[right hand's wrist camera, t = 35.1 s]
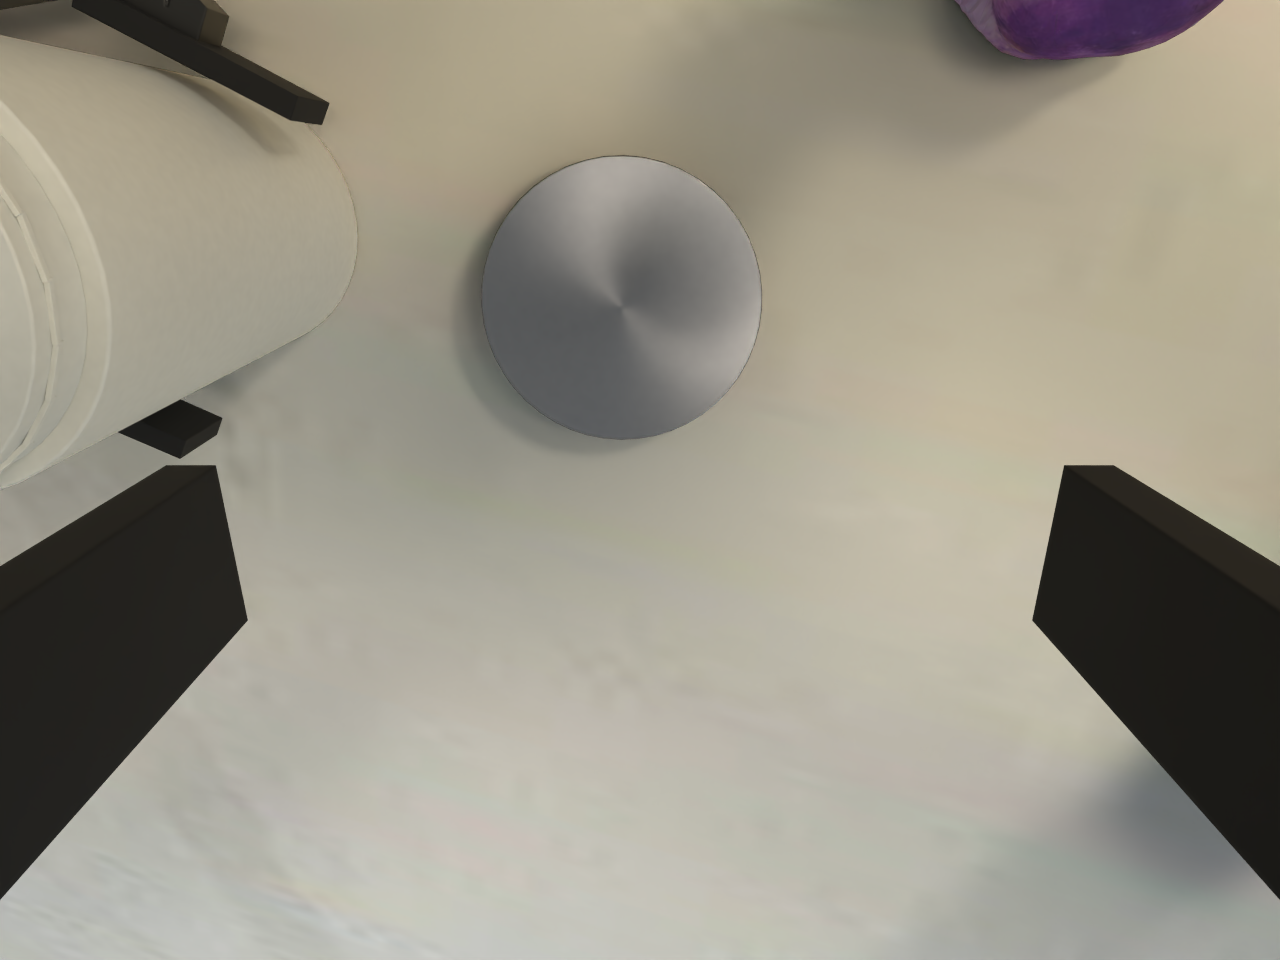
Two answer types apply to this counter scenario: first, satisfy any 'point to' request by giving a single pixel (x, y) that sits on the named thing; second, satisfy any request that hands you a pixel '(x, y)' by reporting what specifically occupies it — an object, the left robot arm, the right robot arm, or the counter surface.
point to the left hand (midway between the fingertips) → (253, 286)
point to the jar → (147, 243)
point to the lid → (621, 297)
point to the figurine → (1081, 25)
